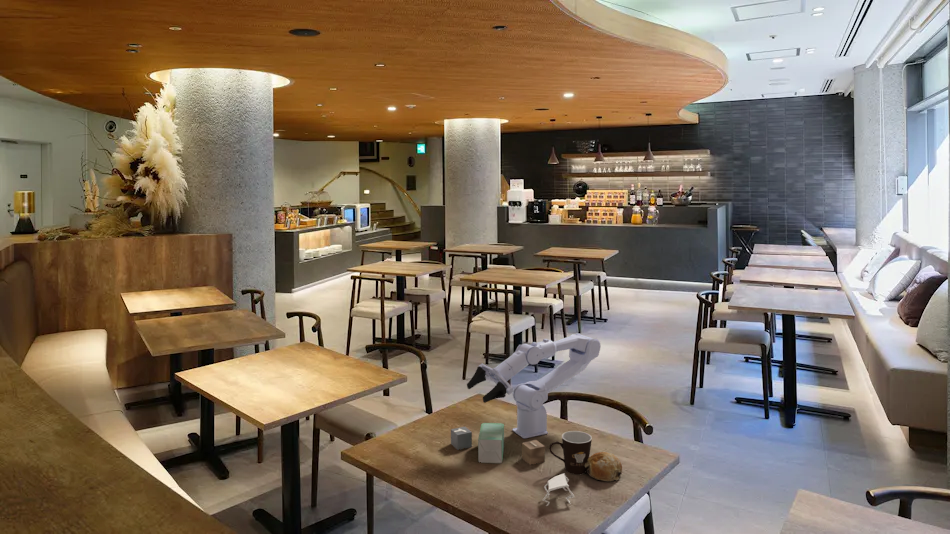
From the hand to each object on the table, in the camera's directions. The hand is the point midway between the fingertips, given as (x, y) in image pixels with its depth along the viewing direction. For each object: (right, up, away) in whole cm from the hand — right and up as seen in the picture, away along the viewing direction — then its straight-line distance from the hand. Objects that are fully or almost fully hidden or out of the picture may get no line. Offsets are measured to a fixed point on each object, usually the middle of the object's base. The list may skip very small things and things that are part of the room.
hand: (475, 393), depth 195 cm
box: (+5, -18, -1) cm, 19 cm away
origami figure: (+22, -22, -28) cm, 42 cm away
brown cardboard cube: (+17, -19, -6) cm, 26 cm away
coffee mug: (+28, -20, -12) cm, 36 cm away
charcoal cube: (-4, -17, +4) cm, 19 cm away
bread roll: (+36, -20, -15) cm, 44 cm away
